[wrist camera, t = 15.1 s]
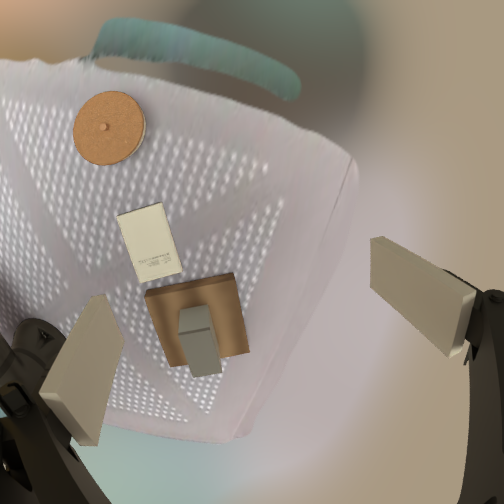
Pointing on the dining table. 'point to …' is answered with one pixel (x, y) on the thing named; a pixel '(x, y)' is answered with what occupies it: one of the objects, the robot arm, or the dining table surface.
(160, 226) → the external hard drive
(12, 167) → the dining table surface
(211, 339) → the block
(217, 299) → the walnut stand
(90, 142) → the lidded jar
